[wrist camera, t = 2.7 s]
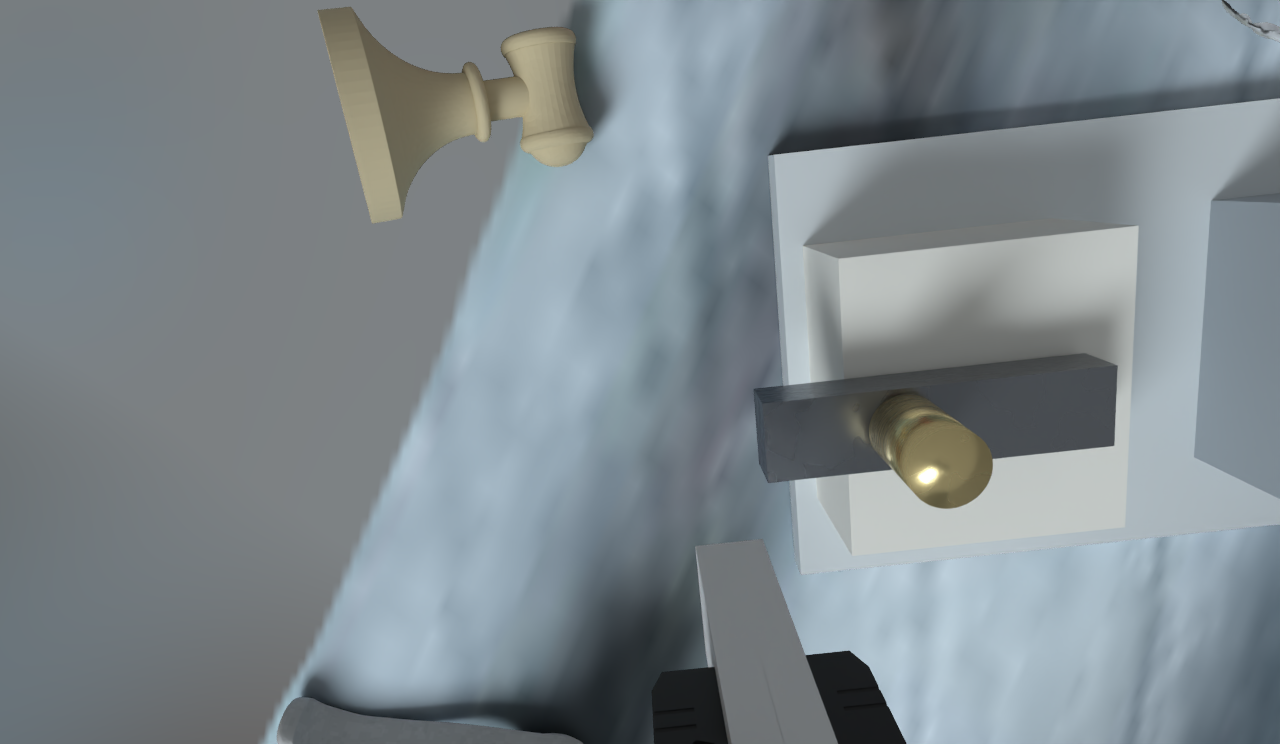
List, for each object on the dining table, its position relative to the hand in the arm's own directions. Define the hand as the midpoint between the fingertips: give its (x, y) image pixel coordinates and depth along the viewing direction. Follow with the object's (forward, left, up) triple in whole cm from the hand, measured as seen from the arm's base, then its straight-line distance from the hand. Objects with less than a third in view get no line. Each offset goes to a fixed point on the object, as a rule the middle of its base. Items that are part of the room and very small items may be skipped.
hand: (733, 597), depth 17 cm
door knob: (+13, +8, -21) cm, 26 cm away
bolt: (0, -9, -13) cm, 15 cm away
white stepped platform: (0, -20, -20) cm, 29 cm away
